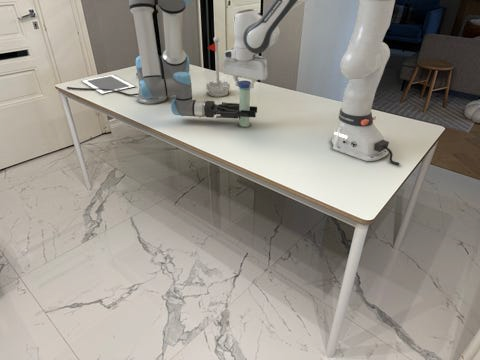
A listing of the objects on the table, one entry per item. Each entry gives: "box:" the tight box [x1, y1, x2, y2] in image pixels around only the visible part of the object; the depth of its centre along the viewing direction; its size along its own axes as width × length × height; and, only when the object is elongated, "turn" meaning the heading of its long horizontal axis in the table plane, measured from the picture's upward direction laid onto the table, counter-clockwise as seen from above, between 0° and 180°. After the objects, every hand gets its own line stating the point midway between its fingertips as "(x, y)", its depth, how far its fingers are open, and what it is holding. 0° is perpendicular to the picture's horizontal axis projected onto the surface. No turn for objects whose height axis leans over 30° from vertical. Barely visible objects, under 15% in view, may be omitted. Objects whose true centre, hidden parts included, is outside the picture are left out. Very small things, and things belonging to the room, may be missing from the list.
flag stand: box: [205, 36, 231, 98], centre depth 183 cm, size 13×13×30 cm
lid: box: [237, 80, 252, 89], centre depth 145 cm, size 5×5×2 cm
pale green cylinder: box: [238, 87, 251, 128], centre depth 150 cm, size 5×5×19 cm
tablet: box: [81, 74, 136, 95], centre depth 206 cm, size 32×20×1 cm, turn 41°
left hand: (256, 111), depth 151 cm, fingers closed on pale green cylinder, 5 cm apart
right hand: (244, 87), depth 146 cm, fingers closed on lid, 5 cm apart
